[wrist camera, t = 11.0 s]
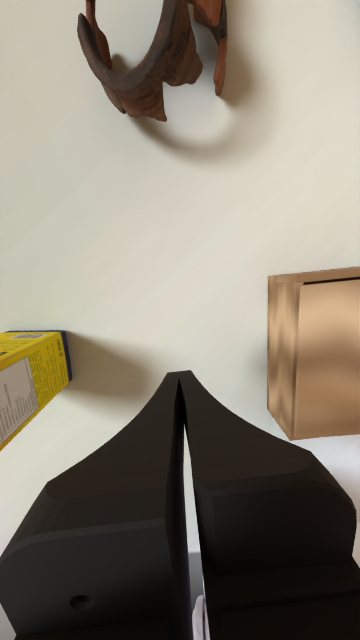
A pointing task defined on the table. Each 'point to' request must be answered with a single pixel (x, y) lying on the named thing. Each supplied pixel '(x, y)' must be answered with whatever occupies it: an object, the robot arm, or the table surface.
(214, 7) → the pottery mug
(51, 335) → the supplement box
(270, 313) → the carton
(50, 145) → the table surface
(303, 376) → the flap
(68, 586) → the robot arm
